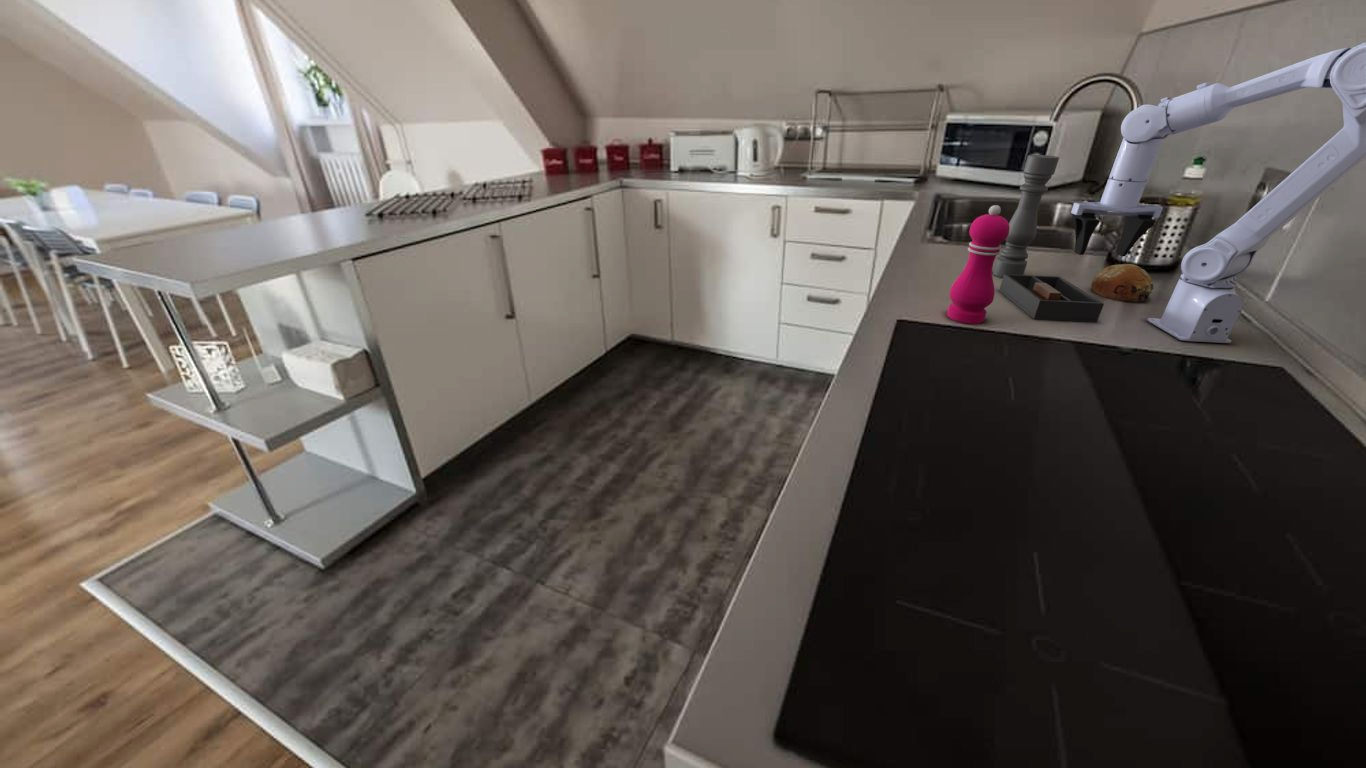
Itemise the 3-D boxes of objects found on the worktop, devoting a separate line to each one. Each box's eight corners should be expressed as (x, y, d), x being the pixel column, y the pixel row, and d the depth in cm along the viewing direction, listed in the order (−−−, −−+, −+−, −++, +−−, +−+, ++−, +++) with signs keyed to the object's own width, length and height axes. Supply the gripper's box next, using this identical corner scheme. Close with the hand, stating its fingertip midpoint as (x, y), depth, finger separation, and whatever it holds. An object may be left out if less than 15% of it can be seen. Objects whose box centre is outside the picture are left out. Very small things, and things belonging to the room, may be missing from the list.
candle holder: (986, 272, 127) (1019, 155, 115) (1004, 269, 130) (1039, 154, 118) (1010, 280, 122) (1047, 158, 111) (1029, 277, 125) (1067, 157, 113)
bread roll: (1128, 306, 119) (1132, 269, 119) (1166, 302, 109) (1170, 260, 109) (1080, 304, 120) (1083, 266, 120) (1112, 299, 110) (1117, 258, 109)
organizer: (1096, 322, 101) (1104, 303, 99) (1033, 319, 102) (1040, 300, 100) (1054, 293, 115) (1059, 276, 113) (998, 290, 116) (1003, 273, 114)
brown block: (1055, 314, 102) (1063, 293, 100) (1041, 313, 102) (1049, 292, 101) (1023, 290, 114) (1029, 271, 112) (1011, 289, 114) (1017, 270, 112)
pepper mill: (991, 326, 98) (1027, 210, 89) (948, 323, 100) (978, 208, 90) (981, 312, 105) (1012, 202, 95) (940, 309, 106) (967, 200, 96)
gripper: (1155, 177, 103) (1126, 250, 110) (1074, 175, 105) (1050, 247, 111) (1182, 183, 97) (1149, 260, 104) (1094, 181, 98) (1068, 256, 105)
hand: (1099, 254), depth 107 cm, fingers open, 7 cm apart
